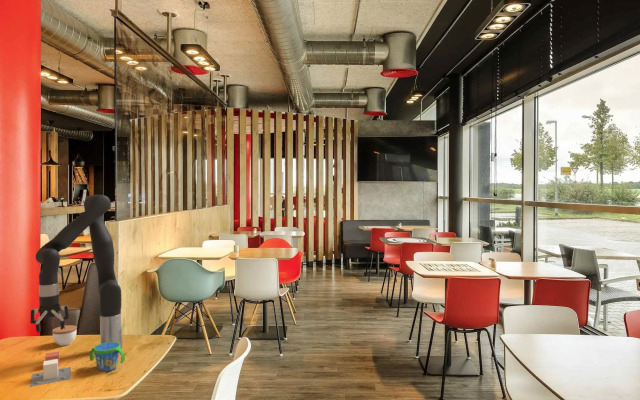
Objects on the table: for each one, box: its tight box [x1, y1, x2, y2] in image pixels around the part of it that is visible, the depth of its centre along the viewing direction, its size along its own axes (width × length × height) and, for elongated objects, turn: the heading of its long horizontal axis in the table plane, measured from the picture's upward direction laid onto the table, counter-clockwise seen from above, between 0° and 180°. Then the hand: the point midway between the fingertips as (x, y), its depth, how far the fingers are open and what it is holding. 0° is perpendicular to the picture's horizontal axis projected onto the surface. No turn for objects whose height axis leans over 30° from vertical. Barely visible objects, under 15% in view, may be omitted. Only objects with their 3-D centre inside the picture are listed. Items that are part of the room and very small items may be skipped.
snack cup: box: [89, 342, 126, 373], centre depth 194 cm, size 16×10×10 cm
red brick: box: [44, 351, 60, 368], centre depth 196 cm, size 5×5×6 cm
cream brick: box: [42, 359, 59, 380], centre depth 185 cm, size 5×5×6 cm
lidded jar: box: [52, 324, 78, 347], centre depth 226 cm, size 11×11×9 cm
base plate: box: [29, 366, 72, 388], centre depth 185 cm, size 14×14×1 cm
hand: (50, 330), depth 196 cm, fingers open, 8 cm apart
